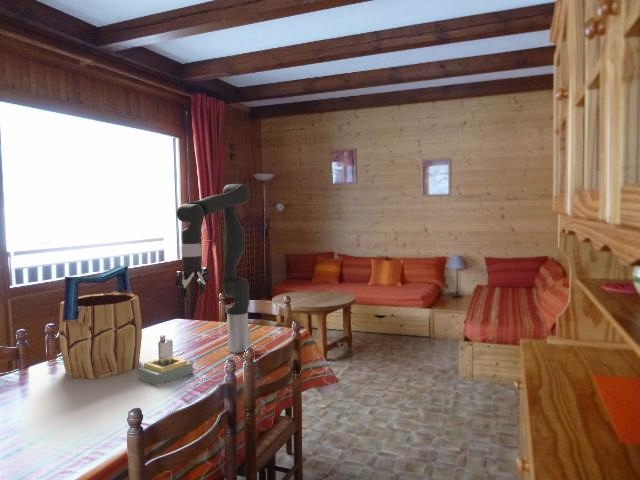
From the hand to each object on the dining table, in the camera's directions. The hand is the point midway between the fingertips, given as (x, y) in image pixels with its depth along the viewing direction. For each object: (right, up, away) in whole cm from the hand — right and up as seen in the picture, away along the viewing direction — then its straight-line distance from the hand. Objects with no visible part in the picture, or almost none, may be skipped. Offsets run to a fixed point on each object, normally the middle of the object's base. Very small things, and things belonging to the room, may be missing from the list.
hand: (193, 295), depth 186 cm
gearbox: (-8, -30, -3) cm, 32 cm away
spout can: (-9, -28, -5) cm, 30 cm away
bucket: (-39, -31, +6) cm, 50 cm away
